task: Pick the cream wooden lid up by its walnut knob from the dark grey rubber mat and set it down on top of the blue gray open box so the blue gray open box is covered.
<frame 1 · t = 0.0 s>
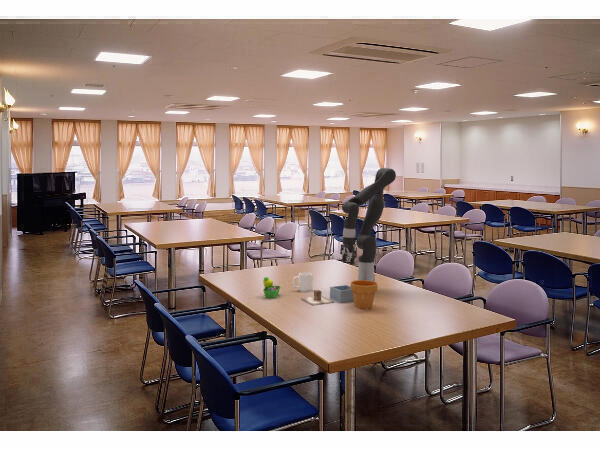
hand: (347, 263, 313), 17 cm above the table, tool pointing down, fingers open, 8 cm apart
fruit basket: (270, 297, 302), on the table
flower pot: (363, 307, 282), on the table
blue gray open box: (343, 300, 295), on the table
mat: (317, 302, 291), on the table
cup: (302, 290, 317), on the table
lid: (317, 301, 291), resting on mat
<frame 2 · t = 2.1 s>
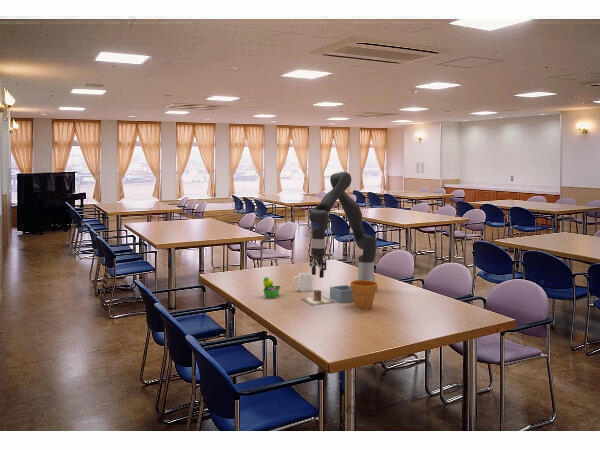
hand: (317, 276, 289), 14 cm above the table, tool pointing down, fingers open, 8 cm apart
nothing on the table moved.
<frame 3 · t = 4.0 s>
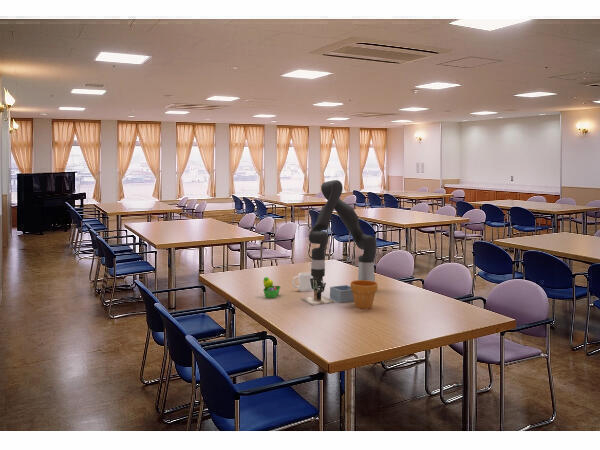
hand: (317, 298, 291), 2 cm above the table, tool pointing down, fingers closed on lid, 3 cm apart
lid: (317, 301, 291), point 1 cm above the table, touching gripper, mat
everything else where it was.
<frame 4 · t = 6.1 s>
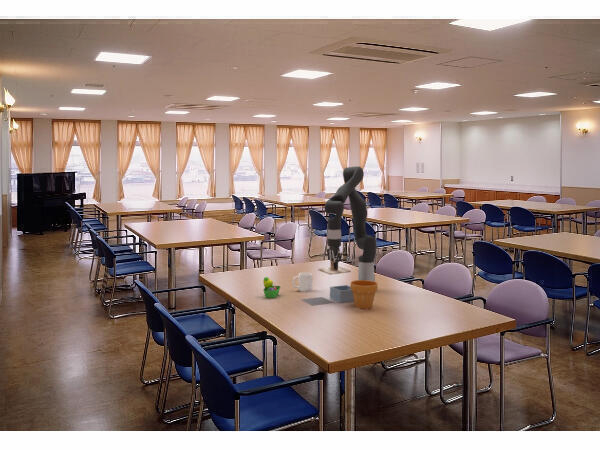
hand: (334, 268, 292), 18 cm above the table, tool pointing down, fingers closed on lid, 3 cm apart
lid: (334, 271, 292), point 17 cm above the table, touching gripper
everything else where it was.
when the fingers open (10 cm above the table, at t = 8.6 s): lid drops 1 cm, resting on blue gray open box.
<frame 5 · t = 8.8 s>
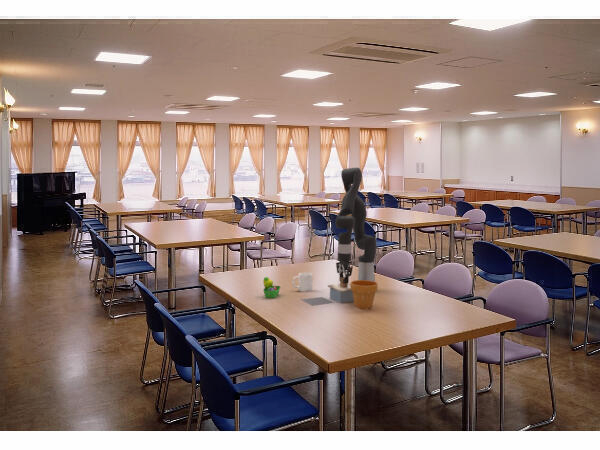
hand: (343, 282, 294), 10 cm above the table, tool pointing down, fingers open, 4 cm apart
lid: (343, 288, 294), point 7 cm above the table, touching blue gray open box
everything else where it was.
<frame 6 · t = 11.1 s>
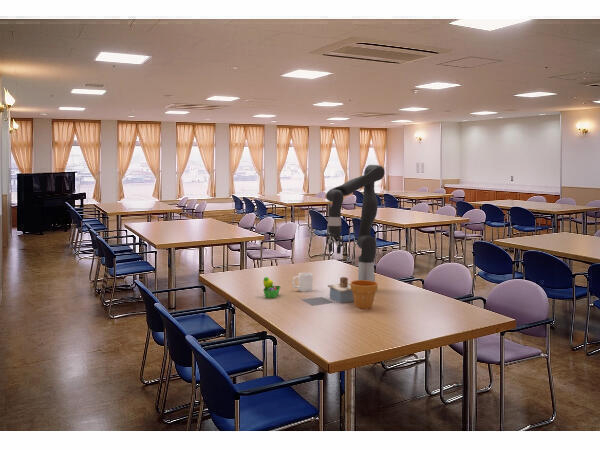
hand: (334, 252, 305), 25 cm above the table, tool pointing down, fingers open, 8 cm apart
nothing on the table moved.
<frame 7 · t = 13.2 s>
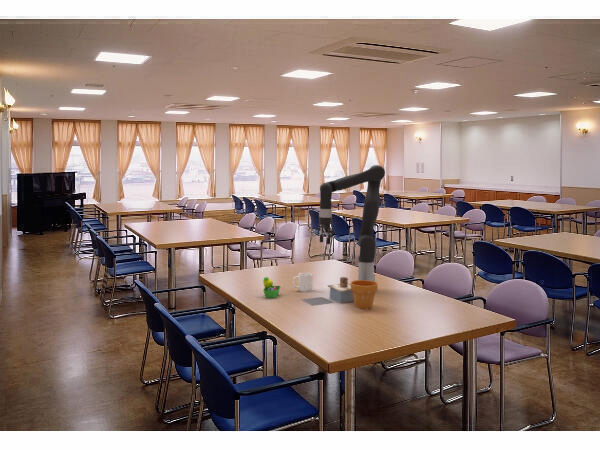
hand: (324, 243, 318), 28 cm above the table, tool pointing down, fingers open, 8 cm apart
nothing on the table moved.
at the end: lid 0.0 cm off-centre on the blue gray open box, point 7.0 cm above the blue gray open box's base; lid tilted 0°; the gripper is holding nothing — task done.
